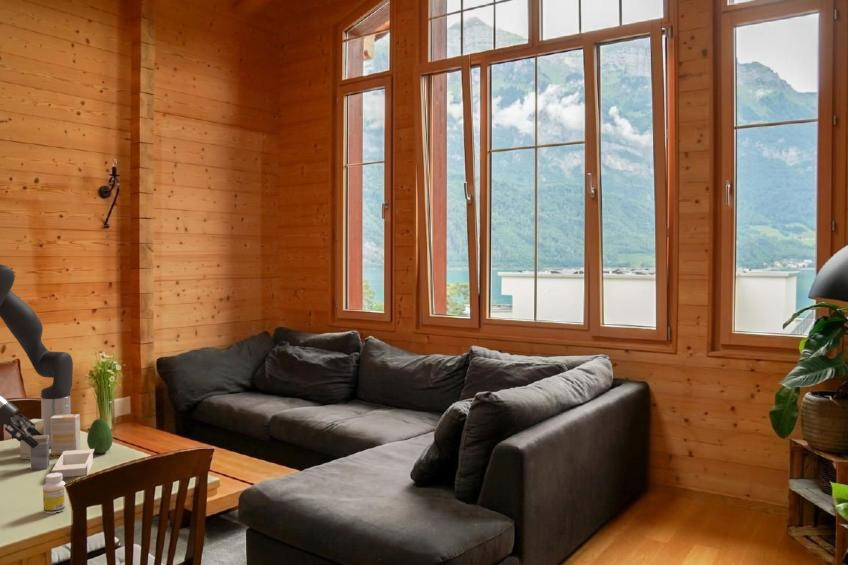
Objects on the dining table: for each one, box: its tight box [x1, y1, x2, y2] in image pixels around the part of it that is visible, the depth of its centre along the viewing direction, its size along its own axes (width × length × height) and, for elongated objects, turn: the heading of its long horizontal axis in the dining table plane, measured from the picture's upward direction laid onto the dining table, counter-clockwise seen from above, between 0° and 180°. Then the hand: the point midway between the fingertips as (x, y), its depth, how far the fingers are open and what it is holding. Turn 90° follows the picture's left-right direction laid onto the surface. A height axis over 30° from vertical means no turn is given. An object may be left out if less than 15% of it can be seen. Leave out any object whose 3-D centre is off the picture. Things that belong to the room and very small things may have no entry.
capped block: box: [30, 435, 50, 471], centre depth 225 cm, size 4×4×10 cm
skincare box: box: [19, 418, 44, 460], centre depth 237 cm, size 6×4×12 cm
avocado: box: [86, 418, 114, 454], centre depth 241 cm, size 8×8×12 cm
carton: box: [51, 448, 95, 478], centre depth 223 cm, size 21×9×4 cm, turn 18°
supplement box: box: [50, 413, 82, 456], centre depth 241 cm, size 8×5×13 cm, turn 97°
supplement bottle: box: [42, 472, 67, 514], centre depth 189 cm, size 5×5×10 cm
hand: (39, 442), depth 225 cm, fingers open, 8 cm apart
